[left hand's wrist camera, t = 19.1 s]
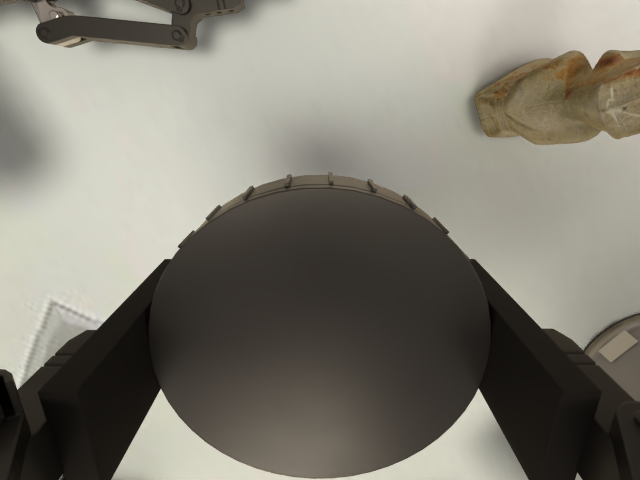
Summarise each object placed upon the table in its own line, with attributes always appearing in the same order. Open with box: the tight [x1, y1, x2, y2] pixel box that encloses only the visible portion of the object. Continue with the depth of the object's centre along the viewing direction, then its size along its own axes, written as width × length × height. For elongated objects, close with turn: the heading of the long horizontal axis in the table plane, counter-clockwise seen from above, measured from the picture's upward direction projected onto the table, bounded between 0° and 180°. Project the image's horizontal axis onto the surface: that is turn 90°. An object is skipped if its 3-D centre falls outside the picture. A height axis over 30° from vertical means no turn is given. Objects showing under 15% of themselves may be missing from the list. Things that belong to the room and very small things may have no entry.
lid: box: [148, 172, 491, 478], centre depth 11 cm, size 10×10×2 cm
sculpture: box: [475, 50, 640, 145], centre depth 26 cm, size 6×7×15 cm
